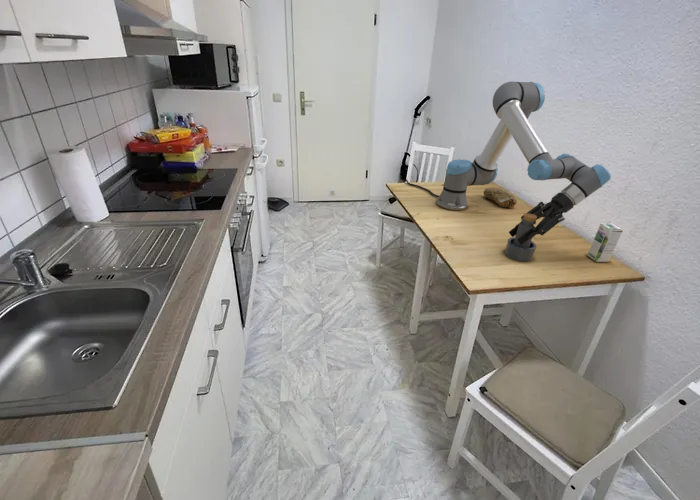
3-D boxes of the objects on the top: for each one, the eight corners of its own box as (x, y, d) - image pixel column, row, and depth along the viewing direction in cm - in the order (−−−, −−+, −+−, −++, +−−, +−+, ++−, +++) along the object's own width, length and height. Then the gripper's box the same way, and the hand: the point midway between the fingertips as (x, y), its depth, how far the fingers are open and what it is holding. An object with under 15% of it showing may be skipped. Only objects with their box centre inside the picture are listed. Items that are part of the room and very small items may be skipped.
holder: (500, 254, 144) (504, 242, 142) (510, 246, 151) (513, 234, 149) (527, 264, 138) (531, 252, 136) (535, 255, 145) (540, 243, 143)
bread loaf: (517, 210, 192) (503, 191, 207) (519, 198, 187) (505, 179, 202) (492, 214, 193) (480, 194, 208) (493, 201, 188) (482, 182, 203)
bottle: (529, 254, 141) (540, 219, 134) (513, 252, 142) (524, 217, 135) (525, 247, 146) (536, 213, 139) (510, 245, 147) (520, 211, 140)
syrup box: (586, 255, 148) (599, 222, 141) (599, 255, 148) (613, 222, 142) (595, 262, 143) (610, 229, 136) (609, 262, 143) (624, 229, 137)
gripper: (588, 215, 129) (532, 256, 134) (556, 196, 145) (507, 233, 151) (580, 201, 125) (523, 243, 131) (548, 184, 142) (498, 222, 147)
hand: (514, 238), depth 141 cm, fingers closed on bottle, 6 cm apart
